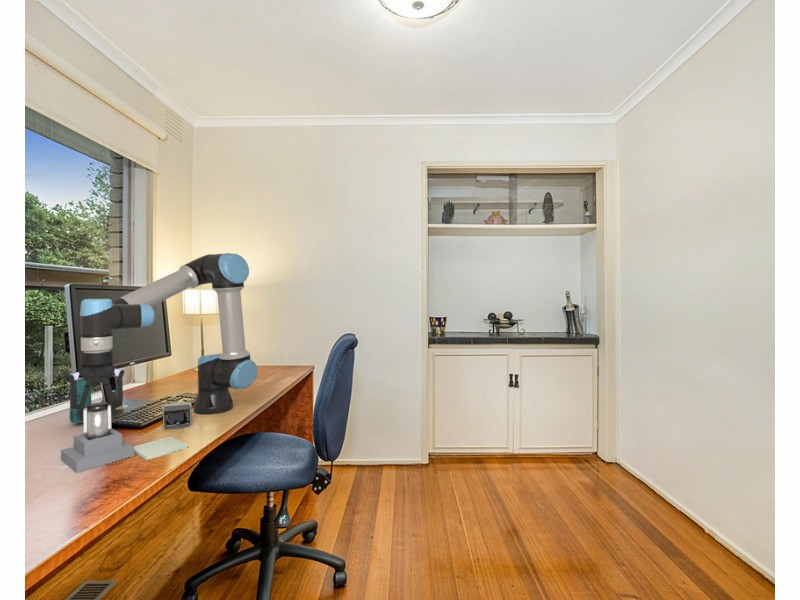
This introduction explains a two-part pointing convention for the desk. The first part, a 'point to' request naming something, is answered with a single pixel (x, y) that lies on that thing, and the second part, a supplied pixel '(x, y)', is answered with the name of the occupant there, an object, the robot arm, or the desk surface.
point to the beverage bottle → (80, 389)
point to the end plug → (97, 420)
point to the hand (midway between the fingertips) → (97, 429)
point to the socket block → (96, 451)
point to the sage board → (159, 447)
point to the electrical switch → (177, 415)
